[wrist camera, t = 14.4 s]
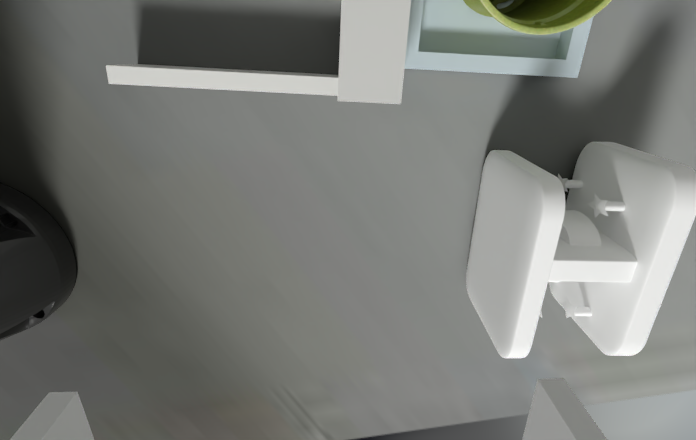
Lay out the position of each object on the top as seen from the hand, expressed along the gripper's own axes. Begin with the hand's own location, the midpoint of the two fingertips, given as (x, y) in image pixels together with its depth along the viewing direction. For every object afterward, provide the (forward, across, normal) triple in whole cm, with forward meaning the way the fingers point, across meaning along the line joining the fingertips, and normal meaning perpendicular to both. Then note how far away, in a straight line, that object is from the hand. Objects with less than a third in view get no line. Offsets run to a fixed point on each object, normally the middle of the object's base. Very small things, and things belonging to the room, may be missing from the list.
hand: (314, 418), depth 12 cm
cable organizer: (+25, -19, +4) cm, 31 cm away
